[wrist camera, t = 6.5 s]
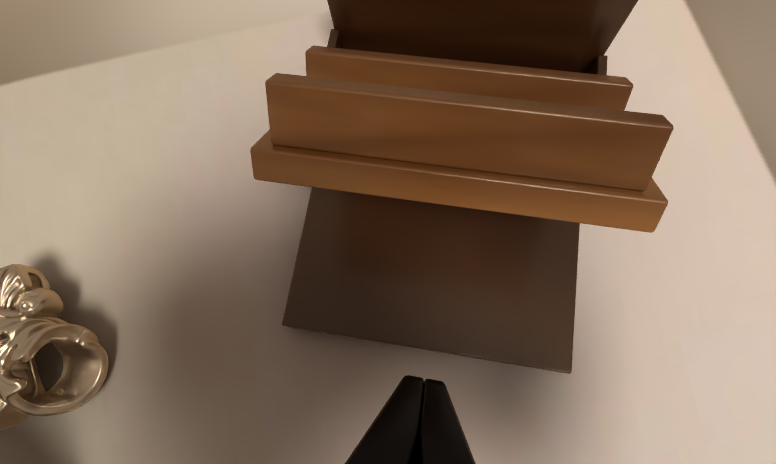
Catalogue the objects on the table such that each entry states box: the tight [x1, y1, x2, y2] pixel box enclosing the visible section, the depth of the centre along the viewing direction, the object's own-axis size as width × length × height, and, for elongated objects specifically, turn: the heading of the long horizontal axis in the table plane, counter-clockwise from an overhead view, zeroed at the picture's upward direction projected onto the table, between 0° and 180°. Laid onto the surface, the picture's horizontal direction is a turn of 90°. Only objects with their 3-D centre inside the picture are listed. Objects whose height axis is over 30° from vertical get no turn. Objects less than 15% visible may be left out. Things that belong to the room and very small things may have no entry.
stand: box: [282, 0, 638, 374], centre depth 18 cm, size 14×12×6 cm
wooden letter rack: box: [250, 46, 673, 233], centre depth 16 cm, size 11×11×3 cm
